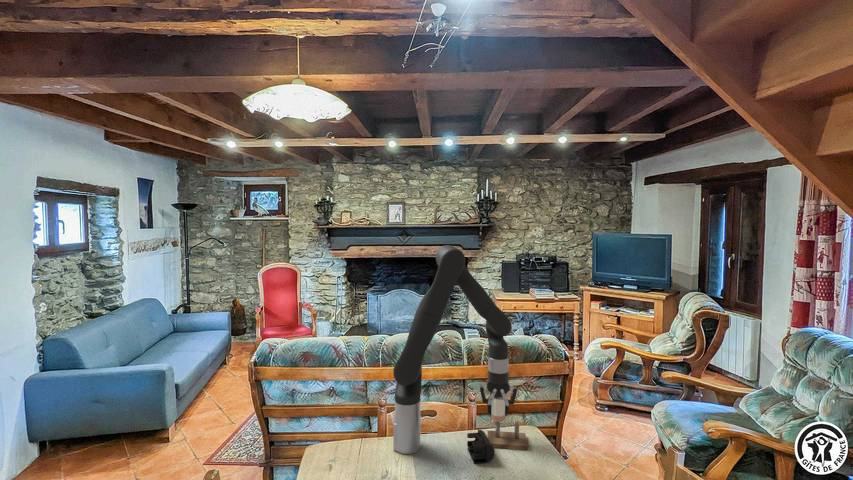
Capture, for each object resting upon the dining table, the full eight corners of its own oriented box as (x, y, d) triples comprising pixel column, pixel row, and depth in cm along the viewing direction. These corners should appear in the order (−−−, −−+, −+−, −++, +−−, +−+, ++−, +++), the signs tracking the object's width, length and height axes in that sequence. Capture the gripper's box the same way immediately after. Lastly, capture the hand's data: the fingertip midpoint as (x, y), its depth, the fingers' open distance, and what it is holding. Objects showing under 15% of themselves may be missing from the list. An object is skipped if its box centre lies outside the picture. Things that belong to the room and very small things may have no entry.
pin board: (488, 447, 141) (488, 427, 141) (487, 434, 150) (487, 415, 150) (528, 450, 139) (528, 430, 139) (524, 436, 148) (525, 417, 148)
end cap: (495, 463, 132) (495, 443, 131) (474, 465, 131) (474, 445, 130) (485, 447, 142) (486, 428, 141) (466, 448, 140) (466, 430, 140)
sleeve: (491, 421, 143) (491, 399, 143) (490, 414, 148) (490, 393, 148) (505, 422, 142) (505, 400, 142) (504, 415, 147) (504, 394, 147)
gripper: (478, 371, 142) (478, 418, 142) (519, 373, 140) (518, 420, 141) (478, 364, 149) (478, 408, 150) (516, 366, 148) (516, 410, 148)
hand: (498, 414), depth 145 cm, fingers closed on sleeve, 5 cm apart
